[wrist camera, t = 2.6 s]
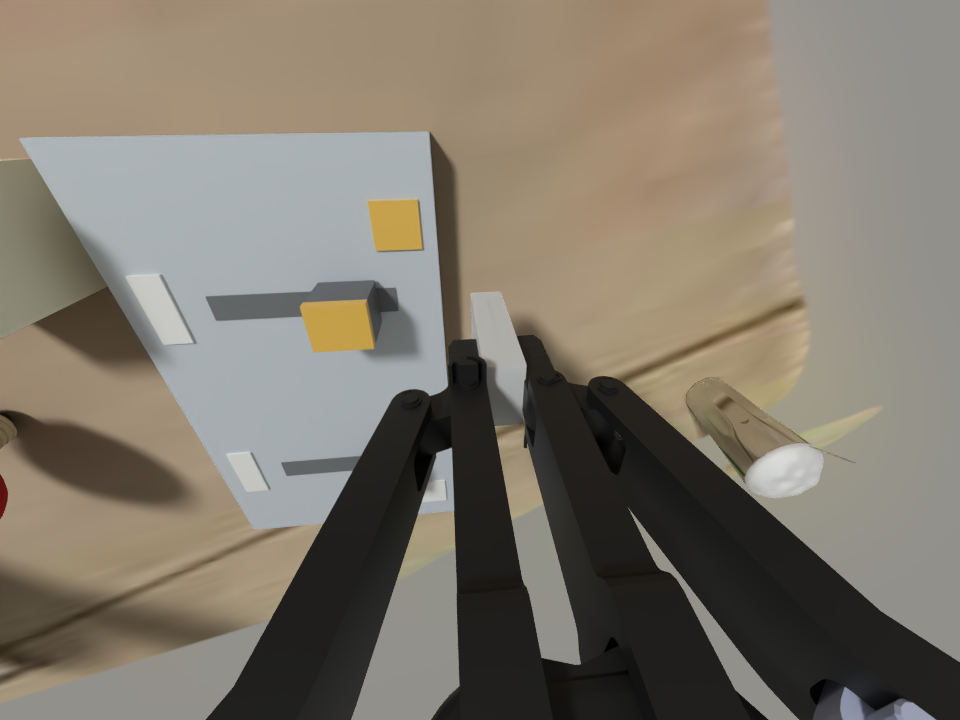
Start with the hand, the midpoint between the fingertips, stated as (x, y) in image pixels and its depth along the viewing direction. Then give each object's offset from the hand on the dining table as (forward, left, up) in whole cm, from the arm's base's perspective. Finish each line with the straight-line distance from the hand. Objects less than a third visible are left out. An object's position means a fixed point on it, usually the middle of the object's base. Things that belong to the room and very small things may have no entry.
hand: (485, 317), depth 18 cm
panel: (-11, -6, -5) cm, 13 cm away
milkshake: (+19, -10, -5) cm, 22 cm away
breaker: (-7, 0, -3) cm, 8 cm away
